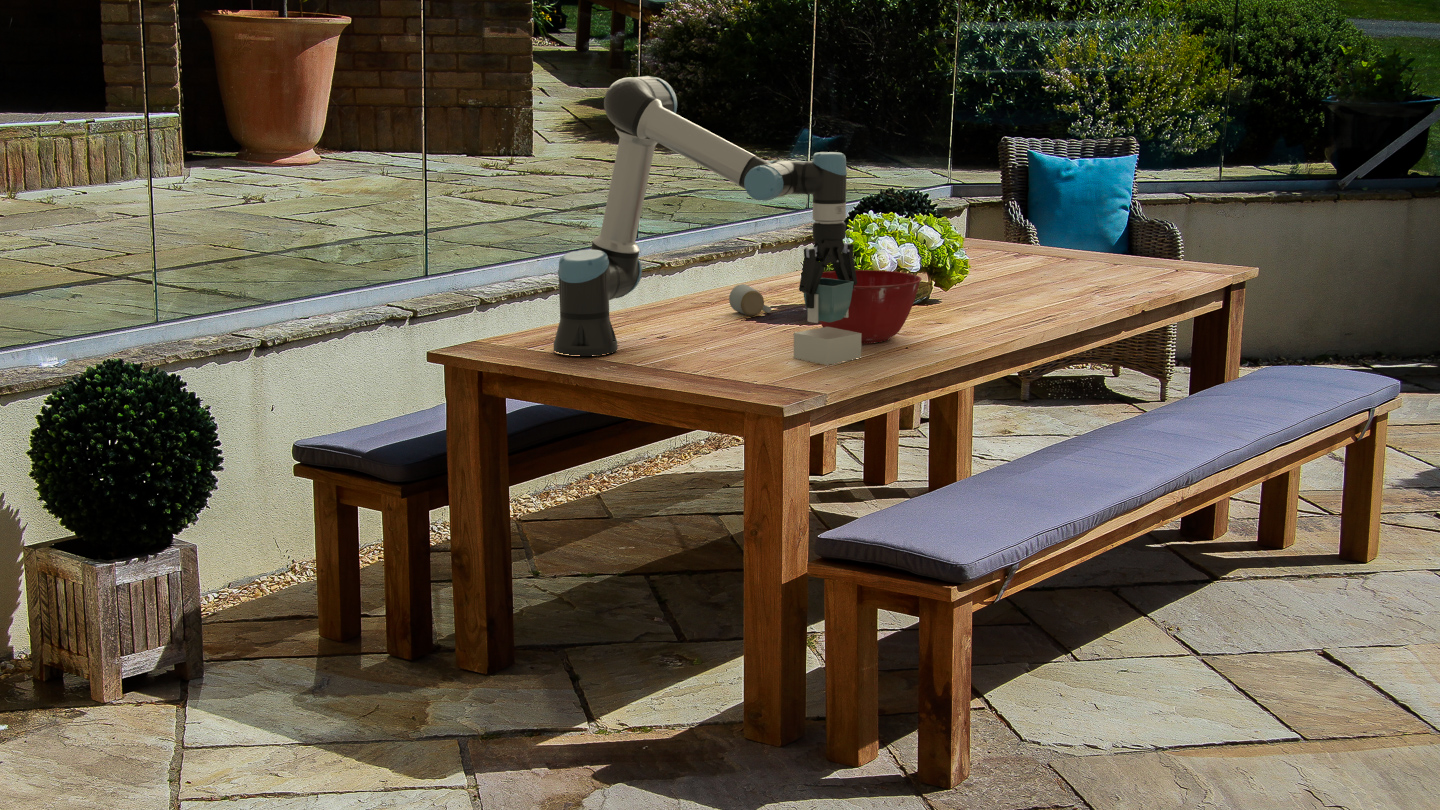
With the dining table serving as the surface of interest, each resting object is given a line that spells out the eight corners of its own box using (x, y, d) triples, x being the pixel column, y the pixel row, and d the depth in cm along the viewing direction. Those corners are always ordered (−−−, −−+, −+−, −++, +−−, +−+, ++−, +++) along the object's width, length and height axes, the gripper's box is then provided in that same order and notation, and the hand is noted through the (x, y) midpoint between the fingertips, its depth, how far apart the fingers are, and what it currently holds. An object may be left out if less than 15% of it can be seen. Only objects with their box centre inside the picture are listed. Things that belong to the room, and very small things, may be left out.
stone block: (827, 365, 327) (827, 339, 326) (793, 357, 335) (793, 332, 334) (861, 358, 334) (861, 333, 333) (827, 351, 342) (827, 326, 341)
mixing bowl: (786, 332, 366) (786, 272, 362) (887, 324, 375) (888, 265, 372) (833, 354, 340) (834, 288, 336) (940, 345, 350) (942, 281, 346)
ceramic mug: (741, 317, 386) (741, 289, 384) (728, 312, 393) (728, 284, 392) (776, 315, 391) (777, 287, 389) (763, 310, 398) (763, 282, 396)
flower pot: (832, 325, 327) (833, 286, 325) (800, 321, 332) (801, 282, 330) (854, 319, 333) (854, 281, 331) (822, 315, 339) (822, 277, 337)
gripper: (806, 226, 318) (805, 327, 323) (874, 219, 331) (872, 315, 337) (782, 224, 323) (782, 323, 328) (850, 216, 337) (849, 311, 342)
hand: (828, 319), depth 333 cm, fingers closed on flower pot, 9 cm apart
